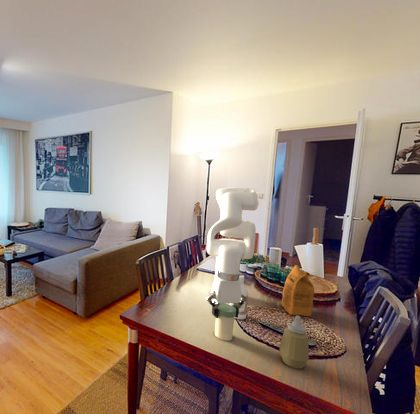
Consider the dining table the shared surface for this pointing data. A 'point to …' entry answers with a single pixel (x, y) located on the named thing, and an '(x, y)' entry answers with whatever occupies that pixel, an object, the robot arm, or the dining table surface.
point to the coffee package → (298, 293)
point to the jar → (224, 328)
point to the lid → (226, 310)
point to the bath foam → (244, 308)
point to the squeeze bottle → (295, 344)
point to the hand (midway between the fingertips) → (224, 315)
